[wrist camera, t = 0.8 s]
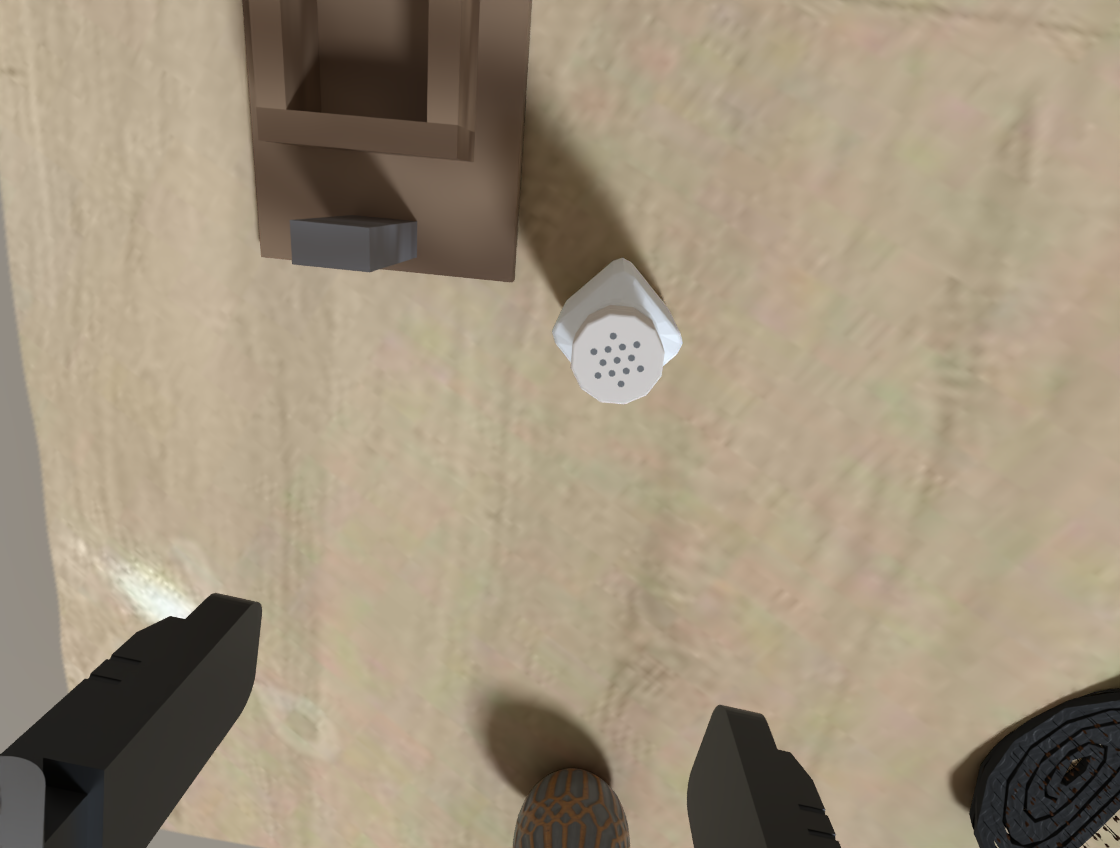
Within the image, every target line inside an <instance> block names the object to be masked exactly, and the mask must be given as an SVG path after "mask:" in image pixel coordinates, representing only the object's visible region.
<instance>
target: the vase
mask: <svg viewBox="0 0 1120 848" xmlns="http://www.w3.org/2000/svg"><path fill="white" fill-rule="evenodd" d="M513 848H630V837H629V828H628V823H627V819H626V816H625V813H624V810H623V807H622V805H621V803H620V801H619V799H618V797H617V795H616V794H615V792H614V791H613V790H612V789H611V787H610V786H609V785H608V784H607V783H606V782H605V781H603V780H602V779H601V778H599V777H598V776H596V775H595V774H593V773H591V772H589V771H586V770H582V769H576V768H568V769H563V770H559V771H556V772H554V773H552V774H550V775H548V776H546V777H545V778H543V779H542V780H541V781H539V782H538V783H537V784H536V785H535V786H534V787H533V789H532V790H531V791H530V793H529V794H528V796H527V798H526V799H525V801H524V803H523V805H522V808H521V810H520V813H519V815H518V819H517V823H516V827H515V832H514V839H513Z"/></svg>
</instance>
